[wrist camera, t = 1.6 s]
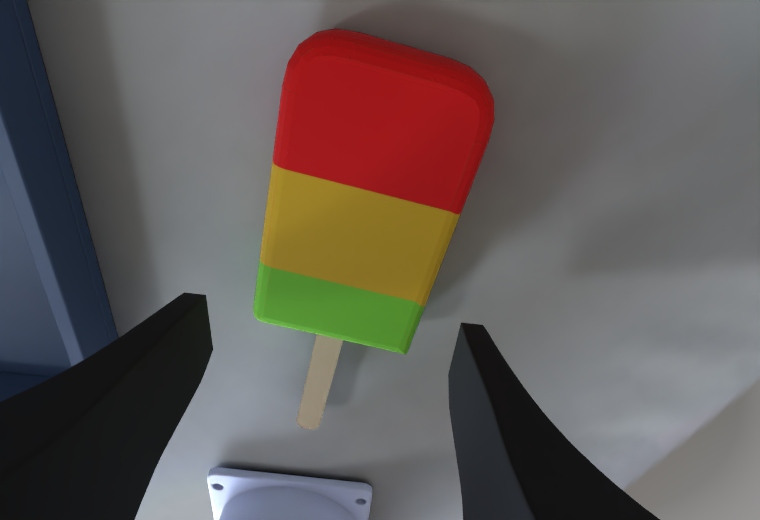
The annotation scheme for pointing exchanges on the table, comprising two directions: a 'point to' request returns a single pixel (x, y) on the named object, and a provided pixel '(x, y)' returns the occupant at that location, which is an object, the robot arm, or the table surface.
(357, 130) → the popsicle
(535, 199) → the table surface
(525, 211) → the table surface
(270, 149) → the table surface
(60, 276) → the tray
